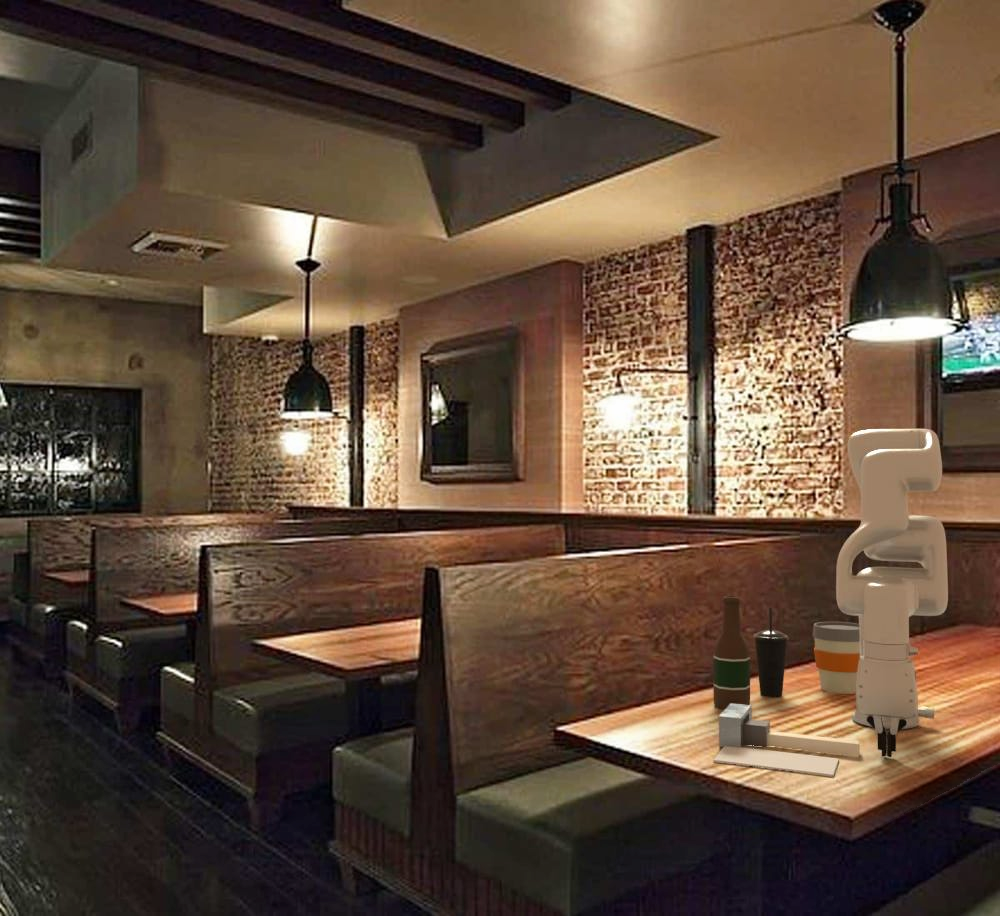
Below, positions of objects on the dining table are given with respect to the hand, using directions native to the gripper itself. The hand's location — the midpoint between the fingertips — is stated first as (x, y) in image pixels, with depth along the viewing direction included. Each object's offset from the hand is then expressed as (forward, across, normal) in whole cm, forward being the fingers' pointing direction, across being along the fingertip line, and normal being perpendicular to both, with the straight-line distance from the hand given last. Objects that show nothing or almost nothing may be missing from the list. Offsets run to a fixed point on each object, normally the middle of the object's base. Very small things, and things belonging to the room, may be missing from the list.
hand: (886, 754), depth 171 cm
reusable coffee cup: (+1, +12, -55) cm, 56 cm away
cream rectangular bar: (+1, +15, 0) cm, 15 cm away
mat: (+1, +18, +10) cm, 20 cm away
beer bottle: (+1, +32, -27) cm, 42 cm away
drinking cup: (+1, +26, -42) cm, 50 cm away
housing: (+1, +27, 0) cm, 27 cm away
